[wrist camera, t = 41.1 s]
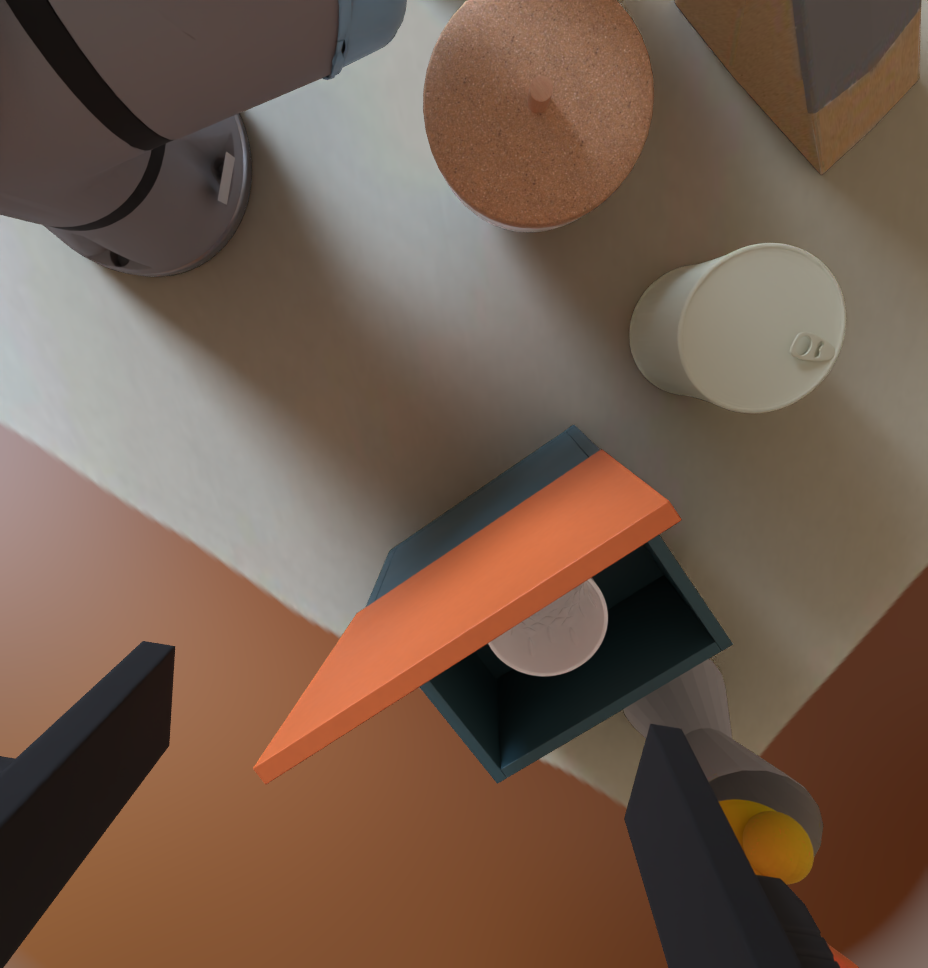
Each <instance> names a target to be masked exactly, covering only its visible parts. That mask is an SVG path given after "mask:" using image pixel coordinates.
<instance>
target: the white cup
mask: <svg viewBox="0 0 928 968" xmlns="http://www.w3.org/2000/svg"><path fill="white" fill-rule="evenodd" d="M607 625H608V610H607V605H606V602H605V599H604V596H603V594H602V592H601V590H600V589H599V587H598V585H597V584H596V582H595V580H594V579H593V577H592V578H590V579H588V580H587V581H585V582H584V583H582V584H581V585H579V586H577V587H576V588H574V589H573V590H571V591H570V592H568V593H566V594H565V595H563V596H562V597H560V598H559V599H557V600H555V601H554V602H552V603H551V604H549V605H548V606H546V607H544V608H543V609H541V610H540V611H538V612H537V613H535V614H533V615H532V616H530V617H529V618H527V619H526V620H524V621H522V622H521V623H519V624H518V625H516V626H515V627H513V628H511V629H510V630H508V631H507V632H505V633H504V634H502V635H500V636H499V637H497V638H496V639H494V640H493V641H491V642H489V643H488V644H489V646H490V648H491V649H492V651H493V652H494V653H495V655H496V656H497V657H498V658H499V659H500V660H501V661H502V662H504V663H505V664H506V665H508V666H509V667H511V668H513V669H515V670H517V671H519V672H522V673H525V674H528V675H533V676H555V675H560V674H564V673H567V672H569V671H572V670H574V669H576V668H578V667H579V666H581V665H582V664H584V663H585V662H586V661H588V660H589V659H590V658H591V657H592V656H593V655H594V654H595V652H596V651H597V650H598V648H599V647H600V645H601V643H602V641H603V639H604V637H605V634H606V630H607Z"/></svg>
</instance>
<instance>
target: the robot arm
mask: <svg viewBox="0 0 928 968" xmlns="http://www.w3.org/2000/svg"><path fill="white" fill-rule="evenodd" d="M406 2H407V0H0V215H4V216H8V217H12V218H16V219H20V220H24V221H29V222H33V223H37V224H41V225H44V226H45V227H46V228H47V229H48V230H50V231H51V232H52V233H53V234H54V235H56V236H57V237H58V238H59V239H60V240H62V241H63V242H64V243H65V244H67V245H68V246H69V247H70V248H72V249H73V250H75V251H76V252H78V253H79V254H81V255H82V256H84V257H86V258H88V259H90V260H92V261H94V262H96V263H97V264H100V265H102V266H104V267H107V268H109V269H113V270H116V271H119V272H124V273H128V274H134V275H140V276H149V277H161V276H170V275H175V274H180V273H183V272H186V271H189V270H191V269H194V268H196V267H198V266H200V265H201V264H203V263H205V262H207V261H208V260H209V259H211V258H212V257H213V256H215V255H216V254H217V253H218V252H219V251H220V250H221V249H222V248H223V247H224V246H225V245H226V244H227V242H228V241H229V240H230V238H231V237H232V236H233V234H234V233H235V231H236V229H237V228H238V226H239V224H240V222H241V220H242V217H243V215H244V213H245V209H246V206H247V203H248V199H249V194H250V188H251V180H252V162H251V152H250V145H249V141H248V137H247V133H246V130H245V127H244V124H243V121H242V119H241V116H240V114H239V113H241V112H243V111H246V110H248V109H250V108H253V107H255V106H258V105H260V104H262V103H265V102H267V101H269V100H272V99H274V98H276V97H279V96H281V95H283V94H286V93H288V92H290V91H293V90H295V89H297V88H300V87H302V86H305V85H307V84H309V83H312V82H314V81H316V80H319V79H321V78H323V79H326V80H329V79H332V78H334V77H335V75H337V74H339V73H340V72H341V69H342V68H343V67H345V66H347V65H349V64H351V63H353V62H355V61H357V60H359V59H361V58H363V57H365V56H367V55H369V54H371V53H373V52H375V51H377V50H379V49H381V48H383V47H385V46H386V45H387V44H388V43H389V42H390V41H391V40H392V39H393V38H394V36H395V34H396V32H397V30H398V29H399V27H400V26H401V24H402V22H403V18H404V15H405V11H406ZM174 657H175V646H170V645H164V644H158V643H152V642H145V641H143V642H142V643H140V645H138V646H137V647H136V648H135V649H134V650H133V651H132V652H131V653H130V654H129V655H128V656H126V657H125V658H124V659H123V660H122V661H121V662H120V663H119V664H118V665H117V666H116V667H114V668H113V669H112V670H111V672H109V673H108V674H107V675H106V676H105V677H104V678H103V679H102V680H100V681H99V682H98V683H97V684H96V685H95V686H94V687H93V688H92V689H91V690H90V691H89V692H87V693H86V694H85V695H84V696H83V697H82V698H81V699H80V700H79V701H78V702H77V703H76V704H75V705H73V706H72V707H71V708H70V709H69V710H68V711H67V712H66V713H65V714H64V715H63V716H62V717H60V718H59V719H58V720H57V721H56V722H55V723H54V724H53V725H52V726H51V727H50V728H48V730H46V731H45V732H44V733H43V734H42V735H41V736H40V737H39V738H38V739H37V740H36V741H34V742H33V743H32V744H31V745H30V746H29V747H28V748H27V749H26V750H25V751H24V752H22V753H21V754H20V755H19V756H18V757H17V758H16V759H14V758H8V757H2V756H0V968H3V967H4V966H5V964H6V963H7V962H8V961H9V959H10V958H11V957H12V955H13V954H14V953H15V951H16V950H17V949H18V947H19V946H20V945H21V943H22V942H23V940H24V939H25V938H26V937H27V935H28V934H29V933H30V931H31V930H32V929H33V927H34V926H35V924H36V923H37V922H38V921H39V919H40V918H41V916H42V915H43V914H44V912H45V911H46V910H47V908H48V907H49V906H50V904H51V903H52V902H53V900H54V899H55V898H56V896H57V895H58V894H59V892H60V891H61V890H62V888H63V887H64V886H65V884H66V883H67V882H68V880H69V879H70V878H71V876H72V875H73V874H74V872H75V871H76V870H77V868H78V867H79V866H80V864H81V863H82V862H83V860H84V859H85V858H86V856H87V855H88V854H89V852H90V851H91V849H92V848H93V847H94V846H95V844H96V843H97V841H98V840H99V839H100V838H101V836H102V835H103V834H104V832H105V831H106V829H107V828H108V827H109V825H110V824H111V823H112V821H113V820H114V819H115V817H116V816H117V815H118V813H119V812H120V811H121V809H122V808H123V807H124V805H125V804H126V803H127V801H128V800H129V799H130V797H131V796H132V794H133V793H134V792H135V791H136V789H137V788H138V787H139V785H140V784H141V783H142V781H143V780H144V779H145V777H146V776H147V775H148V773H149V772H150V771H151V769H152V768H153V767H154V765H155V764H156V763H157V761H158V760H159V758H160V757H161V756H162V755H163V753H164V752H165V751H166V749H167V748H168V747H169V739H170V723H171V707H172V690H173V673H174V672H173V671H174ZM625 823H626V826H627V829H628V833H629V836H630V839H631V842H632V846H633V850H634V853H635V856H636V860H637V863H638V866H639V869H640V873H641V876H642V880H643V883H644V887H645V890H646V893H647V897H648V900H649V903H650V907H651V910H652V914H653V917H654V920H655V923H656V926H657V930H658V933H659V937H660V940H661V944H662V947H663V951H664V954H665V957H666V961H667V964H668V968H840V966H839V964H838V962H837V961H834V958H833V956H834V955H833V953H832V952H831V950H830V948H829V946H828V945H827V943H826V941H825V939H824V938H822V937H821V936H820V930H819V929H818V927H817V925H816V923H815V922H814V920H813V918H812V916H811V915H810V913H809V911H808V909H807V908H806V906H805V904H804V903H803V902H802V901H801V900H800V899H799V898H798V897H797V896H796V895H795V893H794V892H793V891H792V890H791V889H790V888H789V887H788V886H787V885H786V884H785V883H784V882H783V881H782V880H781V879H780V878H774V877H768V876H761V875H755V873H754V871H753V869H752V867H751V865H750V863H749V861H748V859H747V857H746V855H745V853H744V851H743V849H742V847H741V845H740V843H739V841H738V839H737V837H736V835H735V833H734V831H733V829H732V827H731V825H730V823H729V821H728V819H727V817H726V816H725V814H724V812H723V810H722V808H721V806H720V804H719V802H718V800H717V798H716V796H715V794H714V792H713V790H712V788H711V786H710V784H709V782H708V780H707V778H706V776H705V774H704V772H703V770H702V768H701V766H700V764H699V762H698V760H697V758H696V756H695V754H694V752H693V750H692V748H691V746H690V745H689V743H688V741H687V739H686V737H685V735H684V733H683V731H682V729H680V728H674V727H668V726H662V725H656V724H650V726H649V730H648V734H647V737H646V741H645V745H644V748H643V752H642V756H641V759H640V763H639V767H638V770H637V774H636V778H635V781H634V785H633V789H632V792H631V796H630V800H629V803H628V807H627V810H626V814H625Z"/></svg>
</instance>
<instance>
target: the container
mask: <svg viewBox="0 0 928 968" xmlns="http://www.w3.org/2000/svg"><path fill="white" fill-rule="evenodd" d="M599 450H600V449H599V448H598V447H597V446H596V445H595V444H594V443H593V442H592V441H591V440H590V439H589V438H588V437H587V436H586V435H585V434H584V433H582V432H581V431H580V430H579V429H578V428H577V427H576V426H575V425H573V426H571V427H570V428H568V429H567V430H565V431H564V432H562V433H561V434H559V435H558V436H557V437H555V438H554V439H552V440H551V441H549V442H548V443H546V444H545V445H543V446H542V447H540V448H539V449H538V450H536V451H535V452H533V453H532V454H530V455H529V456H527V457H526V458H524V459H523V460H521V461H520V462H519V463H517V464H516V465H514V466H513V467H511V468H510V469H508V470H507V471H505V472H504V473H502V474H501V475H500V476H498V477H497V478H495V479H494V480H492V481H491V482H489V483H488V484H486V485H485V486H484V487H482V488H481V489H479V490H478V491H476V492H475V493H473V494H472V495H470V496H469V497H467V498H466V499H465V500H463V501H462V502H460V503H459V504H457V505H456V506H454V507H453V508H451V509H450V510H448V511H447V512H446V513H444V514H443V515H441V516H440V517H438V518H437V519H435V520H434V521H432V522H431V523H429V524H428V525H427V526H425V527H424V528H422V529H421V530H419V531H418V532H416V533H415V534H413V535H412V536H410V537H409V538H408V539H406V540H405V541H403V542H402V543H400V544H399V545H397V546H396V547H394V548H393V549H391V550H390V551H389V553H388V555H387V558H386V560H385V562H384V565H383V567H382V570H381V572H380V574H379V577H378V579H377V581H376V584H375V586H374V588H373V591H372V593H371V596H370V598H369V600H368V603H367V605H366V607H367V606H369V605H370V604H372V603H373V602H375V601H376V600H378V599H379V598H381V597H382V596H384V595H385V594H387V593H388V592H390V591H391V590H393V589H394V588H395V587H397V586H398V585H400V584H401V583H403V582H404V581H406V580H407V579H409V578H410V577H412V576H413V575H415V574H416V573H418V572H419V571H421V570H422V569H424V568H425V567H427V566H428V565H430V564H431V563H433V562H434V561H436V560H437V559H439V558H440V557H442V556H443V555H445V554H446V553H448V552H449V551H451V550H452V549H454V548H455V547H457V546H458V545H459V544H461V543H462V542H464V541H465V540H467V539H468V538H470V537H471V536H473V535H474V534H476V533H477V532H479V531H480V530H482V529H483V528H485V527H486V526H488V525H489V524H491V523H492V522H494V521H495V520H497V519H498V518H500V517H501V516H503V515H504V514H506V513H507V512H509V511H510V510H512V509H513V508H515V507H516V506H518V505H519V504H521V503H522V502H523V501H525V500H526V499H528V498H529V497H531V496H532V495H534V494H535V493H537V492H538V491H540V490H541V489H543V488H544V487H546V486H547V485H549V484H550V483H552V482H553V481H555V480H556V479H558V478H559V477H561V476H562V475H564V474H565V473H567V472H568V471H570V470H571V469H573V468H574V467H576V466H577V465H579V464H580V463H582V462H583V461H585V460H586V459H587V458H589V457H590V456H592V455H593V454H595V453H596V452H598V451H599ZM593 579H594V580H595V582H596V584H597V585H598V587H599V589H600V590H601V592H602V594H603V596H604V599H605V602H606V605H607V610H608V625H607V630H606V634H605V637H604V639H603V641H602V643H601V645H600V647H599V648H598V650H597V651H596V652H595V654H594V655H593V656H592V657H591V658H590V659H589V660H588V661H586V662H585V663H584V664H582V665H581V666H579V667H578V668H576V669H574V670H572V671H569V672H567V673H564V674H560V675H555V676H533V675H528V674H525V673H522V672H519V671H517V670H515V669H513V668H511V667H509V666H508V665H506V664H505V663H504V662H502V661H501V660H500V659H499V658H498V657H497V656H496V655H495V653H494V652H493V651H492V649H491V648H490V646H489V644H486V645H485V646H483V647H482V648H480V649H478V650H477V651H475V652H474V653H472V654H471V655H469V656H467V657H466V658H464V659H463V660H461V661H459V662H458V663H456V664H455V665H453V666H452V667H450V668H448V669H447V670H445V671H444V672H442V673H441V674H439V675H437V676H436V677H434V678H433V679H431V680H430V681H428V682H426V683H425V684H423V685H422V686H420V688H421V689H422V691H423V692H424V693H425V694H426V696H427V697H428V698H429V699H430V700H431V702H432V703H433V704H434V706H435V707H436V708H437V709H438V711H439V712H440V713H441V714H442V716H443V717H444V718H445V719H446V720H447V722H448V723H449V724H450V725H451V727H452V728H453V729H454V730H455V732H456V733H457V734H458V735H459V737H460V738H461V739H462V740H463V742H464V743H465V744H466V745H467V747H468V748H469V749H470V750H471V752H472V753H473V754H474V755H475V756H476V758H477V759H478V760H479V762H480V763H481V764H482V765H483V766H484V768H485V769H486V770H487V771H488V773H489V774H490V775H491V776H492V778H493V779H494V780H495V781H496V783H499V782H501V781H503V780H504V779H506V778H507V777H509V776H511V775H513V774H514V773H516V772H518V771H520V770H521V769H523V768H525V767H526V766H528V765H530V764H531V763H533V762H535V761H537V760H538V759H540V758H542V757H543V756H545V755H547V754H548V753H550V752H552V751H553V750H555V749H557V748H558V747H560V746H562V745H564V744H565V743H567V742H569V741H570V740H572V739H574V738H575V737H577V736H579V735H580V734H582V733H584V732H586V731H587V730H589V729H591V728H592V727H594V726H596V725H597V724H599V723H601V722H602V721H604V720H606V719H608V718H609V717H611V716H613V715H614V714H616V713H618V712H619V711H621V710H623V709H624V708H626V707H628V706H630V705H631V704H633V703H635V702H636V701H638V700H640V699H641V698H643V697H645V696H646V695H648V694H650V693H652V692H653V691H655V690H657V689H658V688H660V687H662V686H663V685H665V684H667V683H668V682H670V681H672V680H674V679H675V678H677V677H679V676H680V675H682V674H684V673H685V672H687V671H689V670H690V669H692V668H694V667H696V666H697V665H699V664H701V663H702V662H704V661H706V660H707V659H709V658H711V657H712V656H714V655H716V654H718V653H719V652H721V651H723V650H725V649H726V648H728V647H730V646H731V645H733V643H732V642H731V640H730V639H729V637H728V636H727V634H726V633H725V632H724V630H723V629H722V627H721V626H720V624H719V623H718V621H717V620H716V618H715V617H714V615H713V614H712V612H711V611H710V609H709V608H708V606H707V605H706V603H705V602H704V600H703V599H702V597H701V596H700V594H699V593H698V592H697V590H696V589H695V587H694V586H693V584H692V583H691V581H690V580H689V578H688V577H687V575H686V574H685V572H684V571H683V569H682V568H681V566H680V565H679V563H678V562H677V560H676V559H675V557H674V556H673V554H672V553H671V552H670V550H669V549H668V547H667V546H666V544H665V543H664V541H663V540H662V538H661V537H660V535H658V536H656V537H655V538H653V539H651V540H650V541H648V542H647V543H645V544H644V545H642V546H640V547H639V548H637V549H636V550H634V551H633V552H631V553H629V554H628V555H626V556H625V557H623V558H622V559H620V560H618V561H617V562H615V563H614V564H612V565H611V566H609V567H607V568H606V569H604V570H603V571H601V572H599V573H598V574H596V575H595V576H593ZM366 607H365V608H366Z"/></svg>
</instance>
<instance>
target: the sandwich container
mask: <svg viewBox="0 0 928 968" xmlns="http://www.w3.org/2000/svg"><path fill="white" fill-rule="evenodd" d="M675 4H676V5H677V6H678V8H679V9H680V10H681V11H682V13H683V14H684V15H685V17H686V18H687V19H688V20H689V22H690V23H691V24H692V25H693V27H694V28H695V29H696V30H697V32H698V33H699V34H700V35H701V37H702V38H703V39H704V40H705V42H706V43H707V44H708V45H709V47H710V48H711V49H712V51H713V52H714V53H715V54H716V56H717V57H718V58H719V59H720V61H721V62H722V63H723V64H724V66H725V67H726V68H727V69H728V71H729V72H730V73H731V75H732V76H733V77H734V78H735V79H736V80H737V81H738V82H739V84H740V85H741V86H742V87H743V88H744V89H745V90H746V91H747V93H748V94H749V95H750V96H751V97H752V98H753V99H754V100H755V101H756V103H757V104H758V105H759V106H760V107H761V108H762V109H763V110H764V112H765V113H766V114H767V115H768V116H769V117H770V118H771V119H772V120H773V122H774V123H775V124H776V125H777V126H778V127H779V128H780V129H781V131H782V132H783V133H784V134H785V135H786V136H787V137H788V138H789V139H790V141H791V142H792V143H793V144H794V145H795V146H796V147H797V148H798V150H799V151H800V152H801V153H802V154H803V155H804V156H805V157H806V158H807V160H808V161H809V162H810V163H811V164H812V165H813V166H814V167H815V169H816V170H817V171H818V172H819V173H820V174H821V175H822V174H823V173H825V172H826V171H827V170H828V169H829V168H830V167H831V166H832V165H833V164H834V163H836V162H837V161H838V160H839V159H840V158H841V157H842V156H843V155H844V154H845V153H846V152H848V151H849V150H850V149H851V148H852V147H853V146H854V145H855V144H856V143H857V142H858V141H860V140H861V139H862V138H863V137H864V136H865V135H866V134H867V133H868V132H869V131H870V130H872V129H873V127H874V126H875V125H876V124H877V123H878V122H879V121H880V120H881V119H882V118H883V117H884V116H885V115H886V114H887V113H888V112H889V110H890V109H891V108H892V107H893V106H894V105H895V104H896V103H897V102H898V101H899V100H900V99H901V98H902V97H903V96H904V95H905V93H906V92H907V91H908V90H909V89H910V88H911V87H912V86H913V85H914V84H915V83H916V82H917V81H918V80H919V72H920V24H921V0H675Z"/></svg>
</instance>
